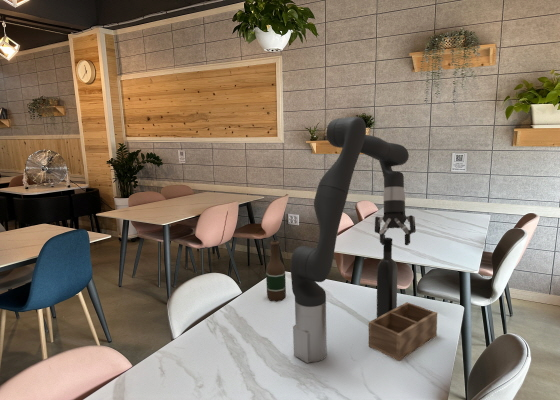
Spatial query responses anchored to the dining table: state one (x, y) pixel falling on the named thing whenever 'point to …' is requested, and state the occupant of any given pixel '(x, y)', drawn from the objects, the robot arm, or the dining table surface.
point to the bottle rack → (402, 330)
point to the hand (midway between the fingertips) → (394, 245)
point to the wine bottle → (386, 280)
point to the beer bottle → (275, 275)
